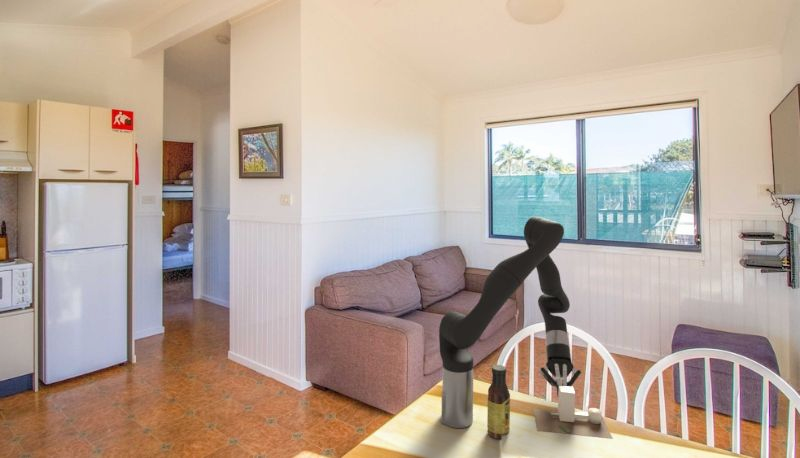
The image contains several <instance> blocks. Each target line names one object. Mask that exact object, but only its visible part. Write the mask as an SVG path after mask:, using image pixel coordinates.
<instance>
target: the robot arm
mask: <svg viewBox="0 0 800 458" xmlns="http://www.w3.org/2000/svg"><path fill="white" fill-rule="evenodd" d="M564 234H565V229H564V226H563V225H562V224H561V223H560V222H557V221H554V220H551V219H548V218H544V217H541V216H532V217H530V218H529V219H528V220H527V221H526V222H525V224H524V227H523V237H524V240H525V242H526V245H527V249H526V250H524V251H522V252H520V253H517V254H515V255H512V256H510V257H507V258H506V259H503V260H502V261H500V262H499V263H498V264H497V265H496V266H494V268H493V269H492V270H491V272H490V273H489V274H488V275H487V277H486V278H485V280H484V283H483V286H482V289H481V294H480V298H479V300H478V302H477V303H476V305H475V306H474V307H473V308H472V309H471V311H470V312H469V313H468V314H466V315H465V314H462V313H461V312H459V311H449V312H447V313H446V314H444V315H443V316H442V319H440V320H441V321H440V324H439V328H438V331H439V332H438V337H439V340H438V342H439V354H440V355H439V356H440V357H441V361H442V390H441V424H442V425H443V424H444V425H446V426H448V427H450V428H455V429H465V428H467V427H468V428H469V426H471V425H472V424H473V423H474V421H473V420H474V358H473V355H472V354H471V352H470V351H469V348H472V346H474V345H475V344H476V343H477V342H478V340H479V339H480V338H481V336H482V335H483V333H484V332H485V330H486V329H487V328H488V326H489V325H490V323H491V322H492V320H493V318H494V317H495V316H496V315H497V313H498V312H499V311H500V310H501V309H502V307H503V306H505V303H506V302H507V301H508V300H509V299H510V298H511V297H512V296H513V295H514V294H515V292H516V291H517V290H518V289H519V288H520V287H521V286H522V284H523V283H524V281H525V280H526V279H527V278H528V277H529V275H530V274H531V273H532V272H533V271H534V270H535V269H536V272H537V276H538V283H539V286H540V287H539V288H540V291H541V293H542V294H541V295H540V296H539V297H538V300H537V304H538V308H539V311H540V312H541V315H542V318H543V320H544V327H545V351H546V363H545V366H543V367H540V370H539V373H540V375H542V377H543V378H544V379H545V380H546V381H547V383H548V384H549V385H550V386H551V387H555V388H556V395H557V398H558V393H559V386H569V387H573V386H574V384H575V383H576V381H578V380H577V379H579V377H580V376H581V373H582V372H581V371H582V370H581V369H580V370H579V369H577V368H575V366H574V364H573V362H572V356H571V347H570V339H569V335H568V328H567V321H566V319H565V318H564V317H562V316H559V315H554V314H565V313H566V312H568V311H569V309H570V306H571V305H570V300H569V297H568V295H567V294H566V291H564V289H563V287H562V281H561V273H560V271H559V268H558V267H557V265H556V263H555V261H554V260H553V258H552V257H551V255H550V254H551V253H552V252H553V251H554V250H555V249H556V248H557V247H558V246H559V244H561V241H562V239H563V237H564ZM549 372H550V373H549ZM571 373H572V374H571ZM550 374H551V375H552V376H553V377H552V376H551V375H550ZM570 374H571V375H572V376H571V378H570V379H569V380H568V376H569V375H570Z"/></svg>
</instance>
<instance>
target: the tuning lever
mask: <svg viewBox="0 0 800 458" xmlns="http://www.w3.org/2000/svg"><path fill="white" fill-rule="evenodd" d="M557 398H558V399H557V411H558V413H551V415H558V416H559V420H560V421H567V422H574V418H578V419H588V421H589V422H591V423H593V424H600V423H601V415H602V411H601V409H599V408H595V407H589V408H588V409H587V412H582V411H576V410H575V409H576V391H575V389H574V386H571V387H569V386H562V385H561V386H559V393H558V397H557Z"/></svg>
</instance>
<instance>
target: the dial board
mask: <svg viewBox="0 0 800 458" xmlns="http://www.w3.org/2000/svg"><path fill="white" fill-rule="evenodd" d="M532 411H533V414H534V419H535V420H534V421H535V425H536V430H537V432H542V433H543V432H545V433H554V434H564V435H572V436H573V435H574V436H582V437H583V436H584V437H593V438H603V439H604V438H605V439H610V440H611V439H613V436H612V434H611V432H610V429H609V428H608V425H607V424H606V421H605V420H604V417H603V415H602V414H601V423H600V424H593V423H591V422H589V421H588V419H578V418H574V422H567V421H560V420H559V416H558V415H551V413H558V410H550V409H548V410H546V409H540V408H539V409H538V408H537V409H536V408H533V410H532Z"/></svg>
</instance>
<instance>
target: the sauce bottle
mask: <svg viewBox="0 0 800 458" xmlns="http://www.w3.org/2000/svg"><path fill="white" fill-rule="evenodd" d="M491 373H492V378H491V381H492V382H491V384H490V385H489V387H488V391H487V419H486V420H487V422H486V423H487V434H488V435H489V436H490V437H492V438H493V439H496V440H502V438H503V437H502V436H506V435H508V433H509V432H510V425H511V424H510V423H511V421H510V420H511V419H510V418H511V416H510V415H511V394H510V391H509V388H508V385H507V375H506V374H507V367H506V366H505V365H502V364H494V365H492V366H491Z"/></svg>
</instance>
